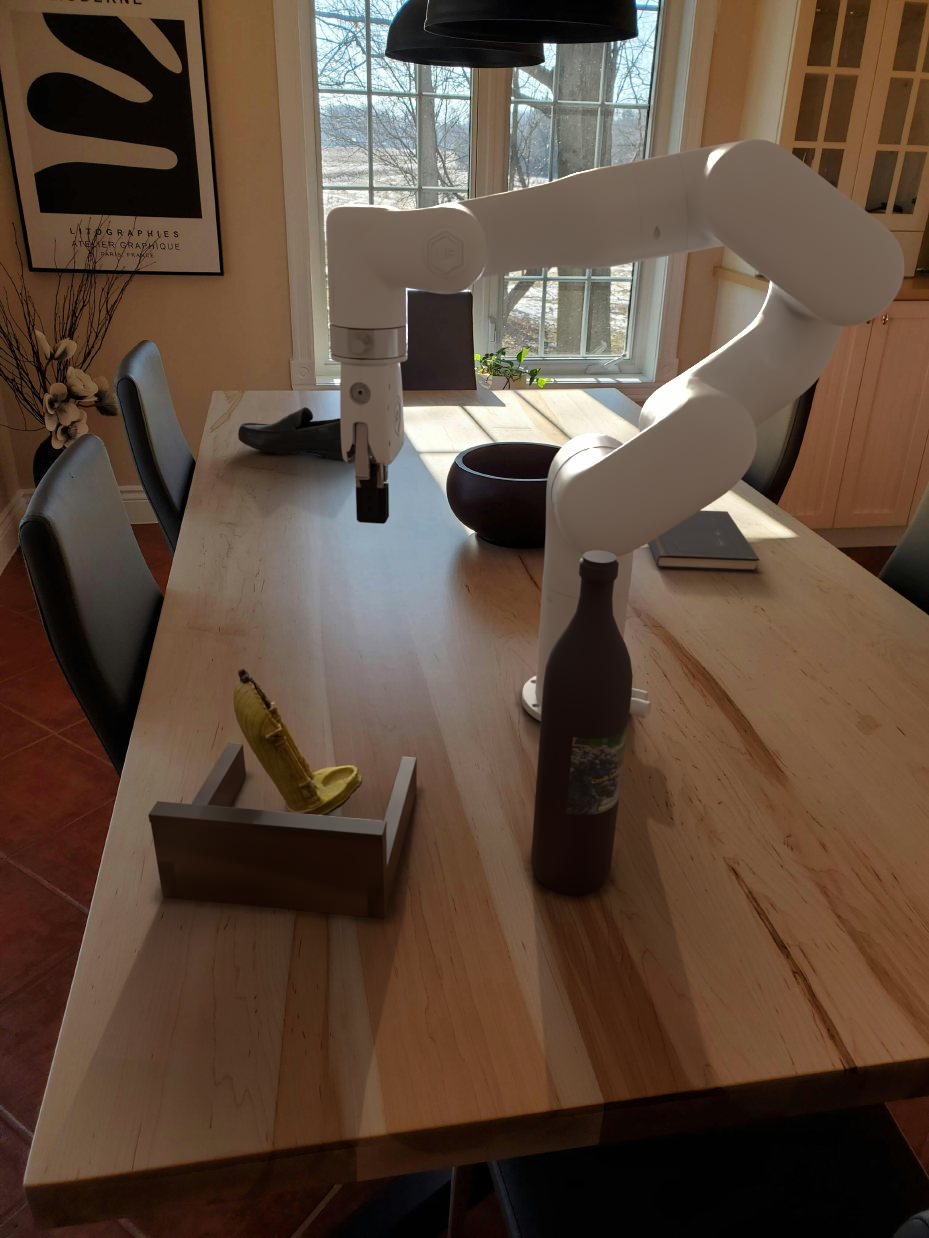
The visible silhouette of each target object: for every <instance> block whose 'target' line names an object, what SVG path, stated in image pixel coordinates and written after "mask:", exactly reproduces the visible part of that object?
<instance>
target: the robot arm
mask: <svg viewBox="0 0 929 1238" xmlns="http://www.w3.org/2000/svg"><path fill="white" fill-rule="evenodd" d="M325 240H326V262H327V263H326V264H327V265H326V267H327V286H328V287H327V289H328V314H329V315H328V316H329V341H330V359H331V360H332V361H334V362H336V363H340V378H339V379H340V382H339V390H340V391H339V394H340V395H339V412H340V413H339V414H340V415H339V416H340V422H341V446H342V455H343V459H344V460H343V461H344V462H345V463H347V464H348V465H351V464H352V462H353V463H354V478H355V509H356V511H355V512H356V513H355V514H356V521H357V522H358V523H363V524H381V525H383V524H386V523H387V521H388V520H389V517H390V502H389V501H390V489H389V487H390V485H389V482H388V479H389V466H390V465H391V464H392V463H393V462H394V460H395V459H396V458H397V456H398V455H399V453H400V452H401V450H402V449H403V446H404V444H405V417H404V397H403V395H404V394H403V379H402V367H401V363H405V362H406V361H407V360H408V289H410V290H415V291H416V290H417V291H421V292H427V293H433V294H439V295H452V294H459V293H461V292H463V291H466V290H468V289H469V288H470V287H472V286H473V285H474V284H475V283H477V281H478V280H479V279H483V278H489V277H493V276H494V277H495V276H498V275H504V274H508V273H515V272H520V271H527V270H535V269H545V268H547V269H548V268H569V269H578V270H595V269H607V268H613V267H618V266H624V265H628V264H633V263H638V262H643V261H648V260H653V259H655V260H656V259H661V258H664V257H669V256H670V257H671V256H676V255H682V254H687V253H693V252H698V251H703V250H709V249H714V248H719V247H725V248H727V249H729V250H730V251H731V252H732V253H734V254H735V255H736V256H738V257H739V258H740V259H741V260H742V261H744V262H745V263H746V264H747V265H749V266H750V267H751V268H753V269H754V270H755V271H756V272H758V273H759V274H760V275H762V277H764V278H765V279H766V280H768V281H769V285H768V286H769V287H768V292H767V295H766V298H765V301H764V304H763V305H762V307H761V310H760V311H759V313H758V314H757V316H756V317H755V319H754V320H752V322H751V323H750V324H749V325H748V326H747V327H746V328H745V329H743V330H742V331H741V332H740V333H738V334H737V335H736V336H735V337H734V338H732V339H731V340H729V341H728V342H727V343H725V344H724V345H723V346H722V347H720V348H719V349H718V350H716V351H715V352H712V353H711V354H709V355H708V356H707V357H705V358H704V359H702V360H701V361H699V362H698V363H697V364H695V365H694V366H692V367H691V368H688V369H687V370H686V371H684V372H683V373H681V374H680V375H678V376H677V377H675V378H673V379H672V380H670V381H669V382H667V383H666V384H664V385H662V386H661V387H659V388H658V389H657V390H656V391H654V392H653V393H652V394H651V395H650V397H649V398H648V399H647V400H646V401H645V403H644V404H643V406H642V409H641V410H640V414H639V419H638V431H639V433H638V434H636V435H635V436H634V437H632V438H631V439H629V440H628V441H626V442H625V443H623V442H621V441H620V440H619V439H616V438H615V437H612V436H611V435H607V434H604V433H598V432H597V433H596V432H595V433H594V432H593V433H586V434H582V435H579V436H576V437H574V438H572V439H571V440H568V442H566V443H565V444H564V445H563V446H562V447H561V448H559V450H558V452H557V453H556V454H555V455H554V457H553V460H552V461H551V464H550V467H549V469H548V474H547V481H546V493H545V495H546V496H545V508H546V509H545V539H544V541H545V542H544V559H543V574H542V586H541V599H540V615H539V628H538V629H539V631H538V642H537V643H538V645H537V660H536V673H535V674H536V675H534V676H533V677H531V678H530V679H529V680H527V681H526V682H525V683H524V685H523V686H522V690H521V703H522V706H523V708H524V709H525V711H526V712H527V713H528V715H530V716H531V717H533V718H534V719H535V720H537V721H539V722H541V709H542V694H543V682H544V675H545V668H546V664H547V661H548V658H549V655H550V652H551V650H552V648H553V646H554V644H555V643H556V641H557V639H558V637H559V636H560V635H561V633H562V632H563V630H564V629H565V628H566V626H567V625H568V624H569V622H570V620H571V619H572V617H573V615H574V613H575V612H576V609H577V604H578V600H579V596H580V586H581V577H580V575H579V565H580V559H581V558H583V554H584V553H586V552H588V551H594V550H600V551H607V552H610V553H612V554H614V555H615V556H616V557H617V559H616V560H617V561H618V563H619V567H618V576H617V578H616V579H615V580H614V588H613V597H612V601H613V616H614V618H615V621H616V624H617V627H618V629H619V632H620V634H621V636H622V638H623V639H625V638H624V637H625V628H626V619H627V613H628V611H627V610H628V603H629V593H630V588H631V581H632V571H633V560H634V551H636V550H638V549H640V548H641V547H643V546H646V545H647V544H649V543H648V542H650V541H652V540H653V539H655V538H657V537H658V536H660V535H662V534H663V533H665V532H666V531H668V530H670V529H671V528H673V527H674V526H676V525H678V524H679V523H681V522H682V521H684V520H686V519H687V518H689V517H690V516H692V515H694V514H695V513H697V512H698V511H700V510H703V509H705V508H706V507H708V506H709V505H711V504H713V503H714V502H716V501H717V500H719V499H720V498H722V497H723V496H725V495H726V494H727V493H728V492H729V491H731V490H732V489H733V488H734V487H735V486H736V485H737V484H738V483H739V482H740V481H741V480H742V479H743V477H744V476H745V474H746V473H747V472H748V470H749V469H750V467H751V466H752V463H753V461H754V458H755V455H756V452H757V447H758V434H757V427H759V426H760V425H762V424H763V423H765V422H766V421H768V420H769V419H771V418H772V417H773V416H774V415H776V414H777V413H779V412H780V411H782V410H783V409H784V408H786V407H788V406H789V405H790V404H792V403H793V402H795V401H796V400H797V399H798V398H799V397H801V396H802V395H803V394H804V393H805V392H807V391H808V390H809V389H810V388H811V387H812V386H813V385H814V384H815V383H816V381H818V379H819V378H820V376H822V374H823V373H824V371H825V370H826V368H827V367H828V365H829V363H830V361H831V359H832V357H833V355H834V353H835V351H836V348H837V346H838V343H839V341H840V338H841V335H842V333H843V329H844V327H849V326H850V327H851V326H857V325H861V324H864V323H865V324H866V322H869V321H871V320H873V319H875V318H876V317H879V315H880V314H882V313H883V312H885V310H886V309H888V307H890V305H891V304H892V303H893V301H895V299H896V297H897V296H898V294H899V291H900V289H901V287H902V285H903V280H904V277H905V268H906V267H905V266H906V265H905V264H906V263H905V257H904V253H903V250H902V247H901V244H900V243H899V241H898V239H897V238H896V237H895V235H894V234H893V233H892V232H891V230H890V229H889V228H887V227H886V225H884V224H883V223H882V222H881V221H880V220H878V219H877V218H876V217H874V216H873V215H871V214H870V213H869V212H868V211H866V209H864V208H863V207H862V206H860V205H859V204H858V203H856V202H854V201H853V200H852V199H851V198H850V197H848V196H847V195H845V194H844V193H843V192H842V191H841V190H839V189H838V188H837V187H835V186H834V185H832V183H830V182H829V181H828V180H826V178H824V177H823V176H821V175H820V174H818V172H817V171H815V170H814V169H813V168H812V167H810V166H809V165H808V164H806V163H805V162H803V161H802V160H801V159H800V158H798V157H797V156H796V155H795V154H793V153H792V152H791V151H789V150H788V149H786V148H785V147H783V146H781V145H780V144H778V143H775V142H773V141H770V140H767V139H757V138H752V139H745V140H739V141H733V142H724V143H721V144H714V145H710V146H709V145H708V146H704V147H699V148H694V149H690V150H684V151H678V152H674V153H669V154H665V155H659V156H655V157H654V156H653V157H649V158H643V159H639V160H633V161H628V162H623V163H618V164H613V165H612V164H611V165H608V166H607V165H606V166H600V167H596V168H592V169H589V170H588V169H587V170H584V171H580V172H576V173H573V174H569V175H567V176H564V177H561V178H559V179H557V180H553V181H550V182H545V183H542V184H538V185H534V186H530V187H525V188H520V189H515V190H511V191H505V192H500V193H495V194H490V195H485V196H484V195H483V196H480V197H474V198H469V199H463V200H458V201H453V202H447V203H442V204H441V203H440V204H438V205H435V206H431V207H424V208H417V209H416V208H415V209H398V208H397V207H394V206H389V205H377V204H376V205H375V204H342V205H337V206H335V207H333V208H331V209H330V211H329V212H328V214H327V217H326V221H325ZM648 698H649V692H648V691H645V690H642V689H640V688H634V687H632V696H631V704H630V712H629V715H632V716H636V717H638V718H642V719H644V720H646V719H647V718H648V717H649V715H650V713H651V709H652V702H650V701H649V699H648Z"/></svg>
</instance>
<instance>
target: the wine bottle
mask: <svg viewBox="0 0 929 1238" xmlns="http://www.w3.org/2000/svg"><path fill="white" fill-rule="evenodd" d="M616 559H617V557H616V556H615V555H614V554H612V553H610V552H607V551H600V550H594V551H588V552H586V553H584V554H583V558H581V559H580V565H579V575H580V577H581V586H580V596H579V600H578V604H577V609H576V612H575V613H574V615H573V617H572V619H571V620H570V622H569V624H568V625H567V626H566V628H565V629H564V630H563V632H562V633H561V635H560V636H559V637H558V639H557V641H556V643H555V644H554V646H553V648H552V650H551V652H550V655H549V658H548V661H547V664H546V668H545V675H544V682H543V694H542V709H541V721H540V723H539V725H540V726H539V737H538V741H539V742H538V753H537V767H536V778H535V779H536V780H535V795H534V808H533V809H534V810H533V812H534V813H533V821H532V822H533V823H532V836H531V837H532V838H531V851H530V865H531V869H532V873H533V875H534V877H535V878H536V879H537V880H538V882H539V883H541V884H542V885H543V886H544V887H546V888H547V889H549V890H551V891H554V892H556V893H560V894H564V895H574V896H576V895H577V896H578V895H587V894H590V893H592V892H595V891H597V890H599V889H600V888H601V887H602V886H604V885H605V883H606V882H607V880H608V878H609V876H610V873H611V867H612V860H613V853H614V843H615V834H616V827H617V819H618V810H619V802H620V793H621V786H622V777H623V770H624V761H625V752H626V746H627V745H626V743H627V736H628V728H629V720H630V713H629V712H630V704H631V696H632V688H633V677H634V675H633V668H632V659H631V656H630V652H629V651H628V646H627V644H626V641H625V640H624V638H622V636H621V634H620V632H619V629H618V627H617V624H616V621H615V618H614V616H613V601H612V597H613V588H614V580H615V579H616V578H617V576H618V567H619V563H618V561H617V560H616Z"/></svg>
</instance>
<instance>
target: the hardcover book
mask: <svg viewBox="0 0 929 1238" xmlns="http://www.w3.org/2000/svg"><path fill="white" fill-rule="evenodd" d="M647 544H648V546H649V549H650V551H651V554H652V556H653V559H654V562H655V563H656V566H657V567H658V568H659V569H660V570H662V569H664V570H685V571H686V570H688V571H691V570H692V571H713V572H714V571H715V572H737V573H739V572H741V573H758V569H757V566H756V565H757V562H760V561H761V560H760V558H759V556H758V554H756V552H755V550H754V548H753V547H752V546H751V545H750V543H749V541H748V540H747V539H746V537H745V535H744V533H743V532H742V531H741V530H740V528H739V527H738V525H737V524H736V522H735V521H734V519H733V518H732V516H731V515H730V513H729V511H727V510H722V511H721V510H703V509H701V510H700V511H698V512H697V513H695V514H694V515H692V516H690V517H689V518H687V519H686V520H684V521H682V522H681V523H679V524H678V525H676V526H674V527H673V528H671V529H670V530H668V531H666V532H665V533H663V534H662V535H660V536H658V537H657V538H655V539H653V540H652V541H650V542H648V543H647Z"/></svg>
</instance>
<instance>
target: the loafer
mask: <svg viewBox="0 0 929 1238" xmlns="http://www.w3.org/2000/svg"><path fill="white" fill-rule="evenodd" d="M313 419H314V415H313V412H312V411H311V410H310V408H309V407H307V406H305V407H302V408H300V409H297V410H296V411H294V412H290V413H288V415H286V416H284V417H283V418H281V419H280V420H278V421H276V422H273V423H257V422H244V423H242V424H240V426H239V428H238V432H237V435H238V440H239V442H241V443H242V444H244V445H245V446H247V447H250V448H252V449H254V450H258V451H260V452H264V453H268V454H273V455H283V456H290V455H295V454H296V455H297V454H310V455H315V456H318V457H320V458H321V457H322V458H323V459H329V460H336V461H339V460H341V461H345V460H344V459H343V455H342V446H341V422H340V418H333V419H323V420H322V419H321V420H313Z"/></svg>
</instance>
